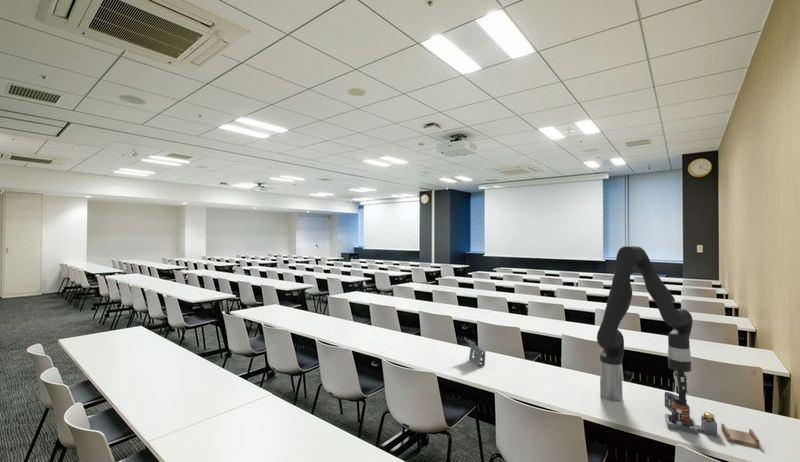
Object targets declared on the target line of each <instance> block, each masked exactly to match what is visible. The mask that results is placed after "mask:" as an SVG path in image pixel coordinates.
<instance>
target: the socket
mask: <svg viewBox="0 0 800 462" xmlns="http://www.w3.org/2000/svg"><path fill="white" fill-rule="evenodd" d="M700 417H701V418H700V419H701V420H700V421H701V422H700V423H701V425H700V424H699V425H698V424H696V421H695V419H694V418H690V425H691V426H692V427H691V426H690V427H687V426H683V425H678V424H673V423H672V422H671V421H672V413H671V414H670V413H664V419H665V423H666V428H667V427H668V428H667V429H670V428H671V430H676V431H680V432H685V433H689V434H692V435H699V432H701V433H703V434H704V435H708V436H713V437H716V438H717V437H718V423H717V421H716V419H715V418H714V419H711V421H710V420H707V418H705V417H704V415H700Z"/></svg>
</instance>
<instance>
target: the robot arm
mask: <svg viewBox="0 0 800 462" xmlns="http://www.w3.org/2000/svg"><path fill="white" fill-rule="evenodd" d="M615 259H616V260H615V267H614V271H613V272H614V273H613V277H612V282H611V286H610V289H609V292H608V297H607V302H606V306H605V309H604V314H603V318H602V321H601V324H600V326H599V329H598V331H597V335H596V342H597V344H598V345H599V346H600V348H602V352H601V353H600V355H599V364H600V365H599V371H600V377H599V382H600V384H599V387H600V389H599V390H600V393H599V396H600V398H601V399H605V400H607V401H612V402H622V401H623V395H624V394H623V358H624V355H625V353H624V352H625V339H624V335H623V333H622V332H621V331H620V330H619V326H620V323H621V322H622V320H623V318H624V317H625V315H626V314H627V312H628V310H629V309H630V306H631V302H632V299H633V288H632V284H631V274H632V271H633V268H634V267H635V268H636V270H637V271H638V272H640V274H641V276H642V278H643V280H644V281H643V282H644V286H645V288H646V291H647V292H648V294H649V296H650V297H651V299H652V300H653V301H654V303H655V304H656V306H657V309H658V312H659V314H660V316H661V318H662V320H663V321H664V323H665V324H667V326H670V327H672V330H671V331H669V333H667V339H668V340H667V341H668V344H667V345H668V347H667V361H668V362H667V364H668V369H671V370H672V371H674V372H673V380H674V383H675V391H676V395H678V396H679V401H681V402H686V400H687V396H686V395H687V394H688V381H687V380H688V377H687V375H686V373H690V372H692V358H691V356H692V355H691V354H692V353H691V349H690V348H691V347H690V346H691V345H690V344H691V343H690V336H691V333H692V327H693V323H694V322H693V317H692V314H691V313H690V312H689V311H688V310H686V309H684V308H676V307H675V305H674V303H675V301H676V300H675V299H676V298H675V297H674V296H673V294H672V293H671V292H670V290H669V289H668V288H667V286H666V285H665V284H664V282H663V281H662V279H661V277H660V276H659V274H658V273H657V271H656V269H655V267H654V265H653V264H652V262H651V260H650V257H649V255H648V254H647V252H646V250H645V249H644V248H643V247H641V246H638V245H637V246H636V245H625V246H622V247H620V248H619V249H618V251H617V253H616V257H615Z"/></svg>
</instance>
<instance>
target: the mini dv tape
mask: <svg viewBox="0 0 800 462" xmlns="http://www.w3.org/2000/svg"><path fill="white" fill-rule="evenodd" d="M674 397H679V395H678V394H674V393H672V392H669V391H664V406H666V407H669V408H670V409H672V402H673V401H675V400H674Z"/></svg>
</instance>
